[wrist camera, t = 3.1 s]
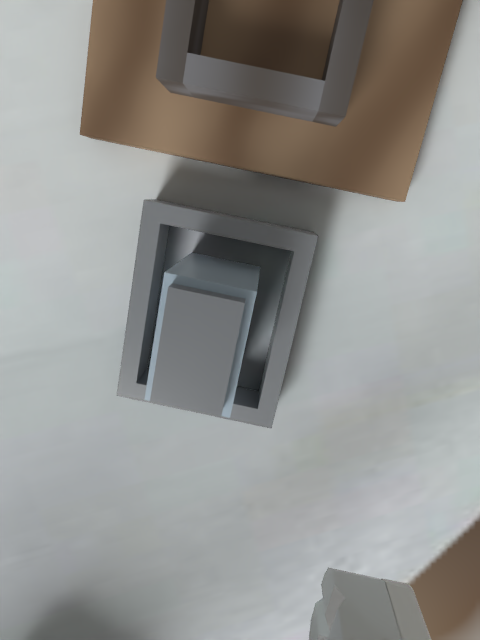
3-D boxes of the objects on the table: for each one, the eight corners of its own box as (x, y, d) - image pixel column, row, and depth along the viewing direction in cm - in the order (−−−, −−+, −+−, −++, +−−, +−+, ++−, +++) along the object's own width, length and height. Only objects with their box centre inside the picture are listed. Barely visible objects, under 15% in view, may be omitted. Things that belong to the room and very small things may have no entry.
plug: (175, 349, 28) (139, 407, 20) (192, 252, 26) (159, 275, 19) (240, 362, 28) (228, 426, 20) (260, 266, 26) (256, 295, 19)
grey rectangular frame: (129, 378, 29) (116, 395, 26) (155, 199, 26) (143, 199, 23) (271, 408, 29) (271, 428, 26) (313, 232, 26) (318, 236, 23)
